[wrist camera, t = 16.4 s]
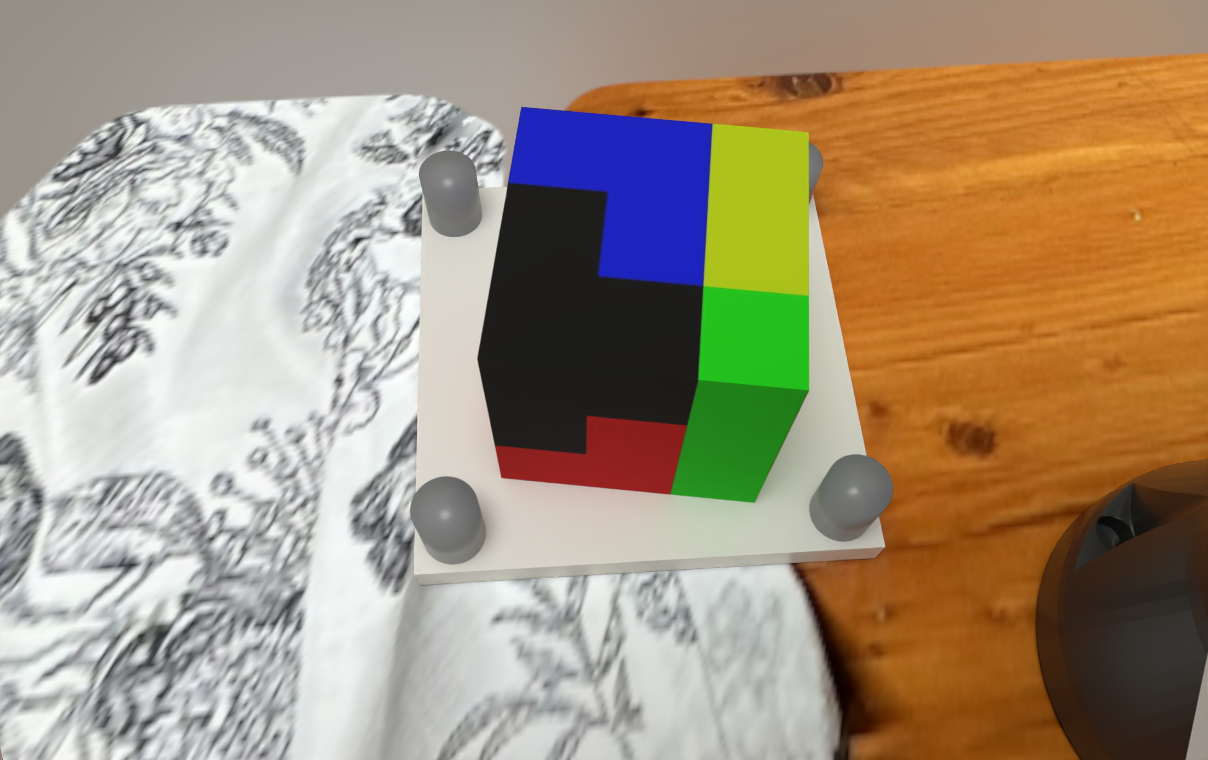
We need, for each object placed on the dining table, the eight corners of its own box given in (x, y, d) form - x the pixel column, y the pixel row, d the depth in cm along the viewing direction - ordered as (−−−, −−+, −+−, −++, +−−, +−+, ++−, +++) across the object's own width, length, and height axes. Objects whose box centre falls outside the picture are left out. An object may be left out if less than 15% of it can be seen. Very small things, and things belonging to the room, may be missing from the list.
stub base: (802, 195, 46) (823, 131, 42) (874, 558, 38) (908, 522, 34) (427, 209, 45) (412, 146, 41) (420, 585, 37) (400, 551, 33)
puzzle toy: (533, 266, 42) (521, 106, 33) (759, 287, 42) (808, 132, 33) (501, 478, 38) (477, 358, 29) (754, 502, 37) (809, 390, 29)
